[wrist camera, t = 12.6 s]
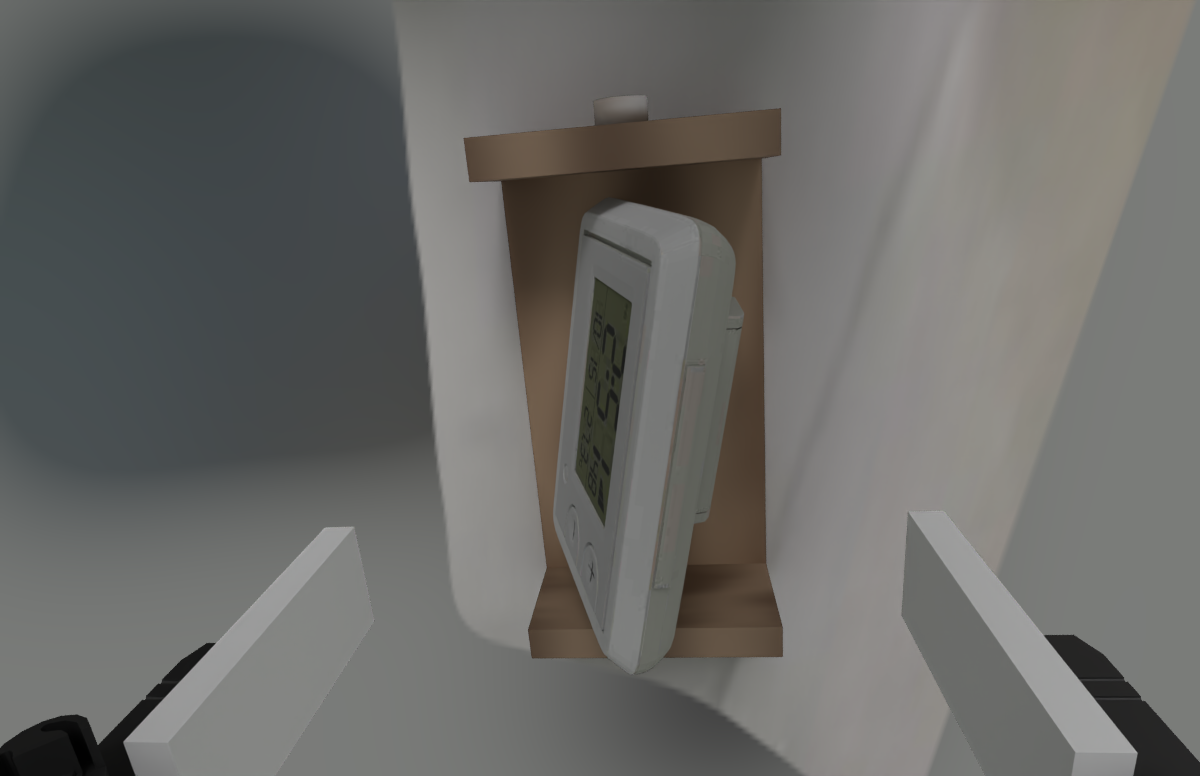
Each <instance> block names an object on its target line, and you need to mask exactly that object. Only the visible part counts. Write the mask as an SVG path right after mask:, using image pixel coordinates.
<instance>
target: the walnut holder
mask: <svg viewBox="0 0 1200 776" xmlns="http://www.w3.org/2000/svg"><path fill="white" fill-rule="evenodd" d="M593 103H594V116H595V126H587V127H576V128H565V129H555V130H544V131H533V132H523V133H512V134H501V135H491V136H480V137H469V138H464V144H465V152H466V159H467V167H468V175H469V182H488V181H501V183H502V191H503V200H504V208H505V217H506V225H507V234H508V242H509V251H510V259H511V268H512V276H513V285H514V293H515V302H516V310H517V319H518V327H519V335H520V344H521V352H522V361H523V369H524V378H525V386H526V395H527V403H528V412H529V420H530V429H531V437H532V446H533V454H534V463H535V471H536V480H537V488H538V497H539V505H540V514H541V522H542V531H543V539H544V548H545V556H546V565H547V569H546V572H545V576H544V579H543V582H542V586H541V589H540V592H539V596H538V599H537V602H536V605H535V609H534V612H533V615H532V619H531V622H530V625H529V629H528V633H529V641H530V648H531V656H532V658H608V657H607V656H606V655H604V653H603V651H602V649H601V647H600V645H599V643H598V640H597V638H596V635H595V633H594V630H593V628H592V625H591V622H590V620H589V617H588V615H587V612H586V609H585V607H584V604H583V602H582V599H581V596H580V594H579V591H578V588H577V586H576V583H575V581H574V578H573V575H572V573H571V570H570V568H569V565H568V562H567V560H566V557H565V554H564V552H563V549H562V547H561V544H560V541H559V539H558V536H557V533H556V530H555V526H554V521H553V507H554V495H555V484H556V473H557V462H558V452H559V441H560V431H561V421H562V410H563V400H564V389H565V379H566V368H567V358H568V348H569V337H570V327H571V316H572V306H573V295H574V285H575V275H576V265H577V255H578V246H579V236H580V228H581V222H582V218H583V216H584V214H585V213H586V212H587V211H588V210H590V209H591V208H592V207H594V206H595V205H596V204H598V203H599V202H601V201H602V200H604V199H605V198H608V197H610V198H617V199H621V200H626V201H630V202H634V203H638V204H642V205H646V206H650V207H654V208H658V209H662V210H666V211H670V212H674V213H678V214H682V215H686V216H690V217H693V218H696V219H699V220H701V221H703V222H705V223H708V224H710V225H711V226H713V227H715V228H716V229H717V230H718V231H719V232H720V233H721V234H722V235H723V236H724V237H725V238H726V239H727V241H728V242H729V244H730V245H731V247H732V249H733V251H734V254H735V261H736V266H735V277H734V284H733V291H732V297H735V298H736V300H737V301H738V303H739V305H740V306H741V308H742V310H743V312H744V319H743V324H742V330H741V336H740V341H739V347H738V353H737V358H736V364H735V370H734V376H733V381H732V387H731V393H730V398H729V404H728V410H727V416H726V421H725V427H724V433H723V438H722V444H721V450H720V455H719V461H718V467H717V473H716V478H715V484H714V490H713V495H712V501H711V507H710V513H709V517H708V518H707V520H706V521H705V522H701V523H696V524H694V526H693V532H692V538H691V544H690V550H689V556H688V562H687V568H686V574H685V580H684V586H683V591H682V597H681V602H680V608H679V613H678V619H677V624H676V630H675V635H674V639H673V642H672V645H671V648H670V649H669V651H668V652H667V653H666V654H665V656H664V657H663V658H676V657H783V627H782V623H781V619H780V615H779V611H778V608H777V604H776V600H775V596H774V592H773V588H772V584H771V581H770V577H769V573H768V569H767V565H766V516H765V427H764V337H763V248H762V159H763V158H768V157H774V156H779V155H781V108H778V109H768V110H757V111H746V112H736V113H725V114H714V115H704V116H693V117H682V118H672V119H661V120H651V121H648V105H647V96H644V95H627V96H615V97H608V98H602V99H597V100H595V101H593Z"/></svg>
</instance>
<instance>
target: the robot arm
mask: <svg viewBox="0 0 1200 776" xmlns="http://www.w3.org/2000/svg"><path fill="white" fill-rule="evenodd" d="M902 617H903V619H904V621H905V623H906V625H907V627H908V629H909V631H910V632H911V634H912V636H913V638H914V640H915V642H916V644H917V646H918V648H919V650H920V652H921V654H922V655H923V657H924V659H925V661H926V663H927V665H928V667H929V669H930V671H931V673H932V675H933V677H934V679H935V680H936V682H937V684H938V686H939V688H940V690H941V692H942V694H943V696H944V698H945V700H946V702H947V703H948V705H949V707H950V709H951V711H952V713H953V715H954V717H955V719H956V721H957V723H958V725H959V727H960V728H961V730H962V732H963V734H964V736H965V738H966V740H967V742H968V744H969V746H970V747H971V750H972V751H973V753H974V755H975V757H976V759H977V761H978V763H979V765H980V767H981V769H982V771H983V773H984V775H985V776H1200V762H1199V761H1198V760H1197V759H1196V758H1195V757H1194V755H1193V754H1192V753H1191V752H1190V751H1189V750H1188V749H1187V748H1186V746H1185V745H1184V744H1183V743H1182V742H1181V741H1180V740H1179V739H1178V738H1177V736H1176V735H1174V733H1173V732H1172V731H1171V730H1170V729H1169V727H1167V725H1166V724H1165V723H1164V722H1163V721H1162V720H1161V718H1160V717H1159V716H1158V715H1157V714H1156V713H1155V712H1154V711H1153V710H1152V709H1151V707H1150V706H1149V705H1148V704H1147V703H1146V702H1145V701H1142V700H1141V696H1140V695H1139V694H1138V693H1137V691H1136V690H1135V689H1134V688H1133V687H1132V686H1131V685H1130V684H1129V683H1128V682H1125V681H1124V677H1123V676H1122V675H1121V674H1120V672H1119V671H1118V670H1117V669H1116V668H1115V667H1114V666H1113V665H1112V664H1111V663H1110V661H1109V660H1108V659H1107V658H1106V657H1105V656H1104V655H1103V654H1102V653H1100V652H1099V651H1097V650H1096V649H1094V648H1093V647H1091V646H1090V645H1088V644H1087V643H1085V642H1083V641H1082V640H1081V639H1079V638H1078V637H1076V636H1074V635H1043V634H1042V633H1041V632H1040V630H1039V629H1038V628H1037V627H1036V626H1035V624H1034V623H1033V622H1032V621H1031V619H1030V618H1029V617H1028V616H1027V614H1026V613H1025V612H1024V610H1023V609H1022V608H1021V607H1020V605H1019V604H1018V603H1017V602H1016V601H1015V599H1014V598H1013V597H1012V595H1011V594H1010V593H1009V592H1008V590H1007V589H1006V588H1005V587H1004V585H1003V584H1002V583H1001V582H1000V580H999V579H998V578H997V577H996V575H995V574H994V573H993V572H992V570H991V569H990V568H989V567H988V565H987V564H986V563H985V562H984V560H983V559H982V558H981V557H980V555H979V554H978V553H977V552H976V550H975V549H974V548H973V547H972V545H971V544H970V543H969V542H968V540H967V539H966V538H965V537H964V535H963V534H962V533H961V532H960V530H959V529H958V528H957V527H956V525H955V524H954V523H953V522H952V520H951V519H950V518H949V517H948V515H947V514H946V513H945V512H944V511H912V512H908V520H907V536H906V552H905V568H904V584H903V600H902ZM374 621H375V620H374V616H373V611H372V607H371V602H370V597H369V593H368V589H367V583H366V579H365V574H364V570H363V565H362V560H361V556H360V551H359V546H358V542H357V537H356V533H355V528H354V527H331V528H324V529H323V530H322V531H321V532H320V534H319V535H318V536H317V537H316V538H315V539H314V540H313V541H312V542H311V543H310V544H309V545H308V546H307V547H306V549H305V550H303V552H302V553H301V554H300V555H299V556H298V557H297V558H296V559H295V560H294V561H293V562H292V563H291V564H290V565H289V566H288V568H287V569H286V570H285V571H284V572H283V573H282V574H281V575H280V576H279V577H278V578H277V579H276V580H275V581H274V583H272V584H271V586H270V587H269V588H268V589H267V590H266V591H265V592H264V593H263V594H262V595H261V596H260V597H259V599H257V600H256V602H255V603H254V604H253V605H252V606H251V607H250V608H249V609H248V610H247V611H246V612H245V613H244V614H243V615H242V616H241V617H240V618H239V620H238V621H237V622H236V623H235V624H234V625H233V626H232V627H231V628H230V629H229V630H228V631H227V632H226V634H224V635H223V637H222V638H221V639H220V640H219V641H218V642H217V643H206V644H205V645H203V646H202V647H200V648H199V649H198V650H196V651H195V652H193V653H191V654H190V655H188V656H187V657H185V658H184V659H182V660H181V661H180V662H179V663H178V664H177V665H176V666H175V667H174V668H173V669H172V670H171V671H170V672H169V673H168V674H167V675H166V676H165V677H164V678H163V679H162V683H161V684H157V685H156V686H155V687H154V689H153V690H152V691H151V692H150V693H149V694H148V695H147V696H146V699H145V700H142V701H141V702H140V703H139V704H138V705H137V706H136V707H135V708H134V709H133V710H132V711H131V712H130V713H129V714H128V715H127V716H126V717H125V718H124V719H123V720H122V721H121V722H120V723H119V724H118V725H117V726H116V727H115V728H114V729H113V730H112V731H111V732H110V733H109V734H108V736H106V738H105V739H103V741H102V742H101V743H100V744H99V745H97V742H96V740H95V737H94V735H93V732H92V729H91V727H90V724H89V722H88V720H87V718H85V717H82V716H79V715H65V716H60V717H56V718H53V719H49V720H46V721H43V722H41V723H39V724H37V725H35V726H32V727H30V728H29V729H26V730H24V731H22V732H21V733H19V734H18V735H16V736H15V737H13V738H12V739H11V740H9V741H8V742H6V743H5V744H4V745H3V746H2V747H1V748H0V776H276V774H277V773H278V771H279V770H280V768H281V767H282V765H283V763H284V762H285V760H286V759H287V757H288V756H289V754H290V752H291V751H292V749H293V748H294V746H295V745H296V743H297V742H298V740H299V738H300V737H301V735H302V734H303V732H304V730H305V729H306V727H307V726H308V724H309V723H310V721H311V720H312V718H313V717H314V715H315V713H316V712H317V710H318V709H319V707H320V706H321V704H322V702H323V701H324V699H325V698H326V696H327V695H328V693H329V691H330V690H331V688H332V687H333V685H334V684H335V682H336V681H337V679H338V677H339V676H340V674H341V673H342V671H343V670H344V668H345V667H346V665H347V663H348V662H349V660H350V659H351V657H352V655H353V654H354V652H355V651H356V649H357V648H358V646H359V645H360V643H361V642H362V640H363V638H364V637H365V635H366V634H367V632H368V631H369V629H370V627H371V626H372V624H373V623H374Z"/></svg>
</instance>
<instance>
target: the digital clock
mask: <svg viewBox="0 0 1200 776" xmlns="http://www.w3.org/2000/svg"><path fill="white" fill-rule="evenodd" d="M735 266H736V261H735V254H734V251H733V249H732V247H731V245H730V244H729V242H728V241H727V239H726V238H725V237H724V236H723V235H722V234H721V233H720V232H719V231H718V230H717V229H716V228H715V227H713V226H711V225H710V224H708V223H705V222H703V221H701V220H699V219H696V218H693V217H690V216H686V215H682V214H678V213H674V212H670V211H666V210H662V209H658V208H654V207H650V206H646V205H642V204H638V203H634V202H630V201H626V200H621V199H617V198H610V197H608V198H605V199H604V200H602V201H601V202H599V203H598V204H596V205H595V206H594V207H592V208H591V209H590V210H588V211H587V212H586V213H585V214H584V216H583V218H582V222H581V228H580V236H579V246H578V255H577V265H576V275H575V285H574V295H573V306H572V316H571V327H570V337H569V348H568V358H567V368H566V379H565V389H564V400H563V410H562V421H561V431H560V441H559V452H558V462H557V473H556V484H555V495H554V507H553V521H554V526H555V530H556V533H557V536H558V539H559V541H560V544H561V547H562V549H563V552H564V554H565V557H566V560H567V562H568V565H569V568H570V570H571V573H572V575H573V578H574V581H575V583H576V586H577V588H578V591H579V594H580V596H581V599H582V602H583V604H584V607H585V609H586V612H587V615H588V617H589V620H590V622H591V625H592V628H593V630H594V633H595V635H596V638H597V640H598V643H599V645H600V647H601V649H602V651H603V653H604V655H606V656H607V657H608V658H609V659H610V660H611V661H613V662H614V663H615V664H616V665H618V666H619V667H620V668H622V669H623V670H624V671H625V672H627V673H628V674H631V675H633V674H640V673H644V672H646V671H648V670H650V669H652V668H653V667H654V666H655V665H656V664H657V663H658V662H659V661H660V660H661V659H662V658H663V657H664V656H665V654H666V653H667V652H668V651H669V649H670V648H671V645H672V642H673V639H674V635H675V630H676V624H677V619H678V613H679V608H680V602H681V597H682V591H683V586H684V580H685V574H686V568H687V562H688V556H689V550H690V544H691V538H692V532H693V526H694V524H696V523H701V522H705V521H706V520H707V518H708V517H709V513H710V507H711V501H712V495H713V490H714V484H715V478H716V473H717V467H718V461H719V455H720V450H721V444H722V438H723V433H724V427H725V421H726V416H727V410H728V404H729V398H730V393H731V387H732V381H733V376H734V370H735V364H736V358H737V353H738V347H739V341H740V336H741V330H742V324H743V319H744V312H743V310H742V308H741V306H740V305H739V303H738V301H737V300H736V298H735V297H732V291H733V284H734V277H735Z"/></svg>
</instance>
